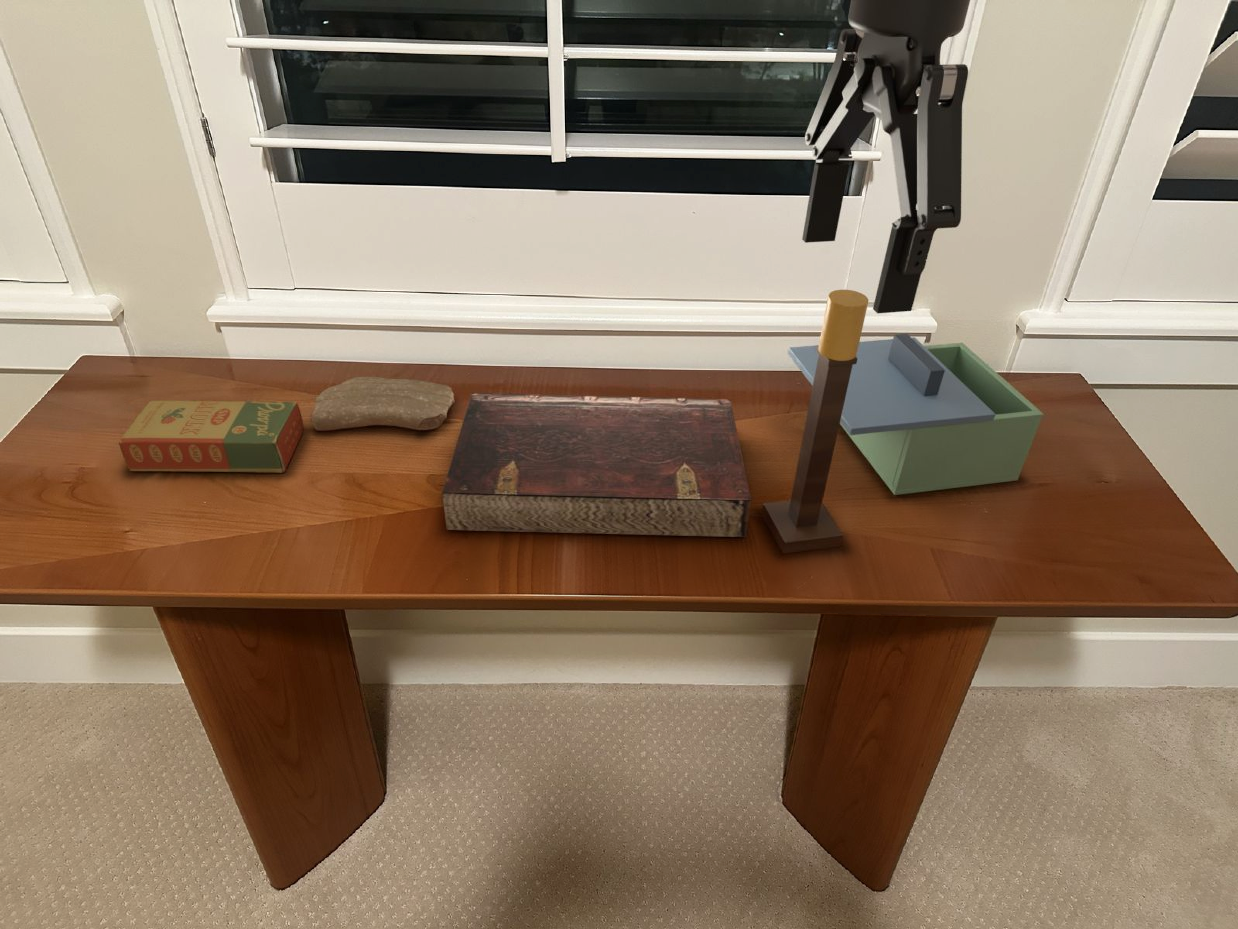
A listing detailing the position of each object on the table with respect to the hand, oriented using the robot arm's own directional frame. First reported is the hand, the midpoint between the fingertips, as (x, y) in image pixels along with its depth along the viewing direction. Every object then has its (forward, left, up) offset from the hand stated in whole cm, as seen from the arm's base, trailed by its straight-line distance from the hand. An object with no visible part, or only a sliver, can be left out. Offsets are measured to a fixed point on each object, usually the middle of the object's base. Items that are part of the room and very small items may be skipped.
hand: (852, 272), depth 66 cm
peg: (0, 0, -7) cm, 7 cm away
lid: (+6, -16, -19) cm, 25 cm away
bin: (+4, -22, -27) cm, 35 cm away
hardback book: (+17, +13, -27) cm, 35 cm away
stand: (0, 0, -27) cm, 27 cm away
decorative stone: (+40, +28, -27) cm, 56 cm away
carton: (+42, +46, -27) cm, 68 cm away
